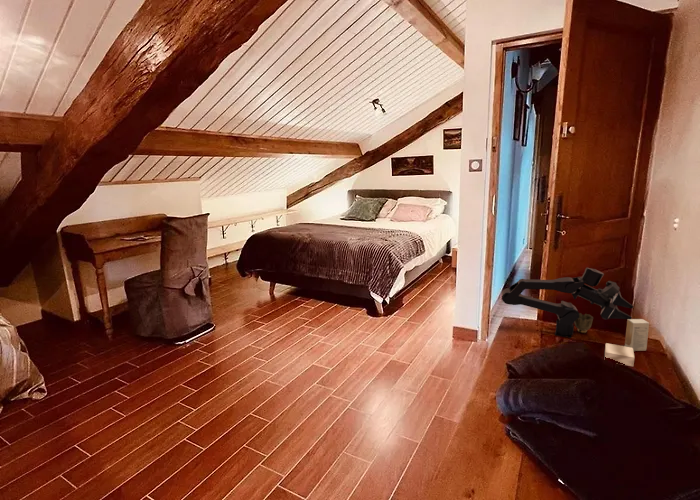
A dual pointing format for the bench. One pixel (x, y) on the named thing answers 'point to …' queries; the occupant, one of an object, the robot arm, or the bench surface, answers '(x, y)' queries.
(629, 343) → the skincare box
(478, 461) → the bench surface
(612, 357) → the birch block
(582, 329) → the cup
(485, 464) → the bench surface
